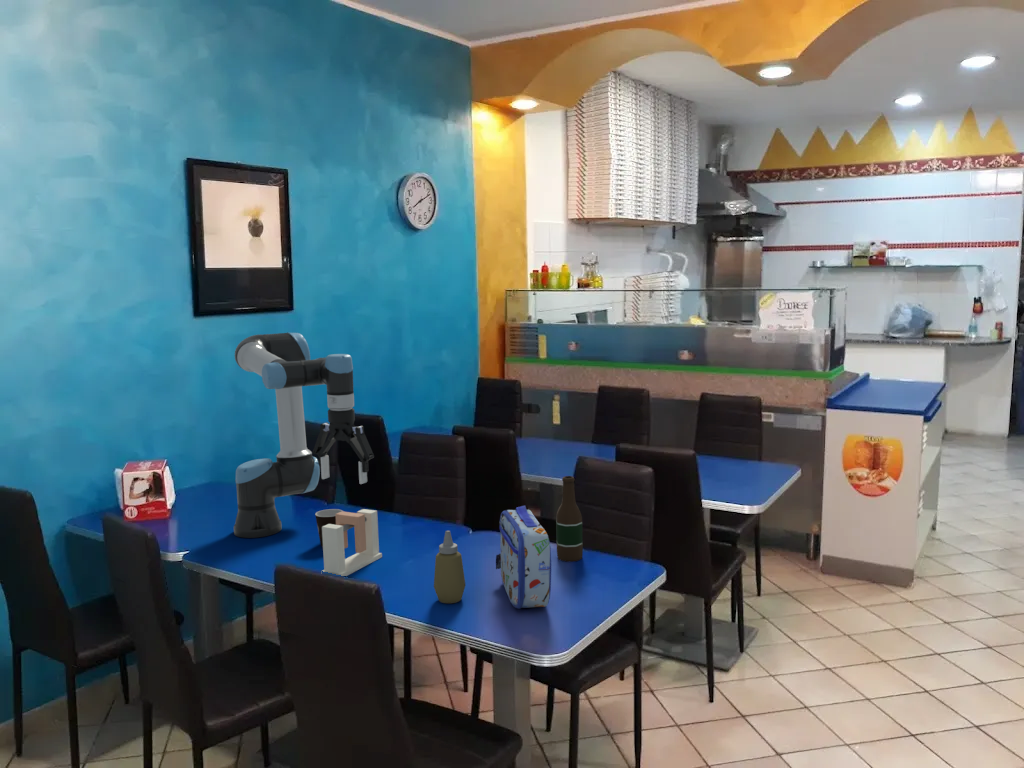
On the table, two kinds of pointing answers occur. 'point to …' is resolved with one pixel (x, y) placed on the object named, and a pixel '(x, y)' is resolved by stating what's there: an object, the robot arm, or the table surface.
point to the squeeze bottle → (449, 572)
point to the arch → (359, 528)
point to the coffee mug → (325, 520)
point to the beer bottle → (569, 525)
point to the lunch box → (524, 559)
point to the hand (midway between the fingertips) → (344, 480)
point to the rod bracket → (335, 546)
